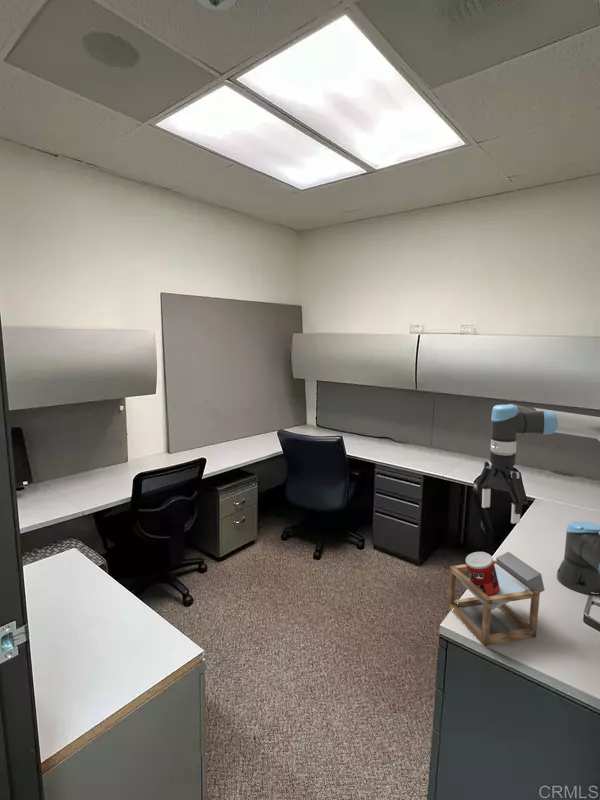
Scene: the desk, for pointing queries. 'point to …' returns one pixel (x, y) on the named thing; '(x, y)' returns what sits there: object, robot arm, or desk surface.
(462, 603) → the frame
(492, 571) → the canned food
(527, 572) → the trapdoor
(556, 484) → the desk surface
